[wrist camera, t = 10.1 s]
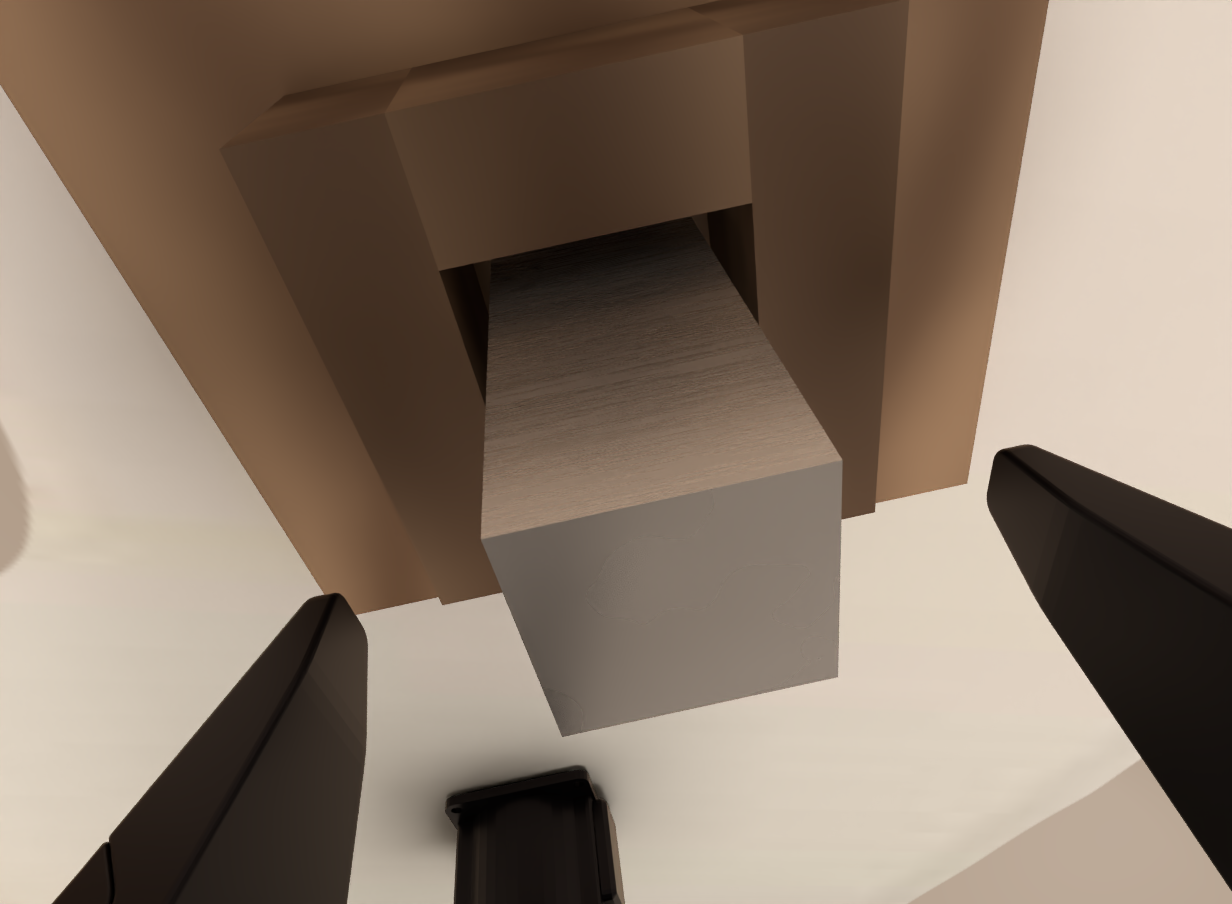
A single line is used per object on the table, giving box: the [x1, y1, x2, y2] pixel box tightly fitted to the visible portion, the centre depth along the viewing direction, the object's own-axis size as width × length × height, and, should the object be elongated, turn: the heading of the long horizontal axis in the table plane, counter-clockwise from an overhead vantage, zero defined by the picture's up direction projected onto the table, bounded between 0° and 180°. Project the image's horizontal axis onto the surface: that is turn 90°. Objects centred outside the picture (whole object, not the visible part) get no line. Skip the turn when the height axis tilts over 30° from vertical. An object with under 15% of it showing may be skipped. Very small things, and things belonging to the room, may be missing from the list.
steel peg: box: [481, 216, 843, 737], centre depth 13 cm, size 4×4×10 cm
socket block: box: [0, 0, 1049, 615], centre depth 16 cm, size 20×18×6 cm
